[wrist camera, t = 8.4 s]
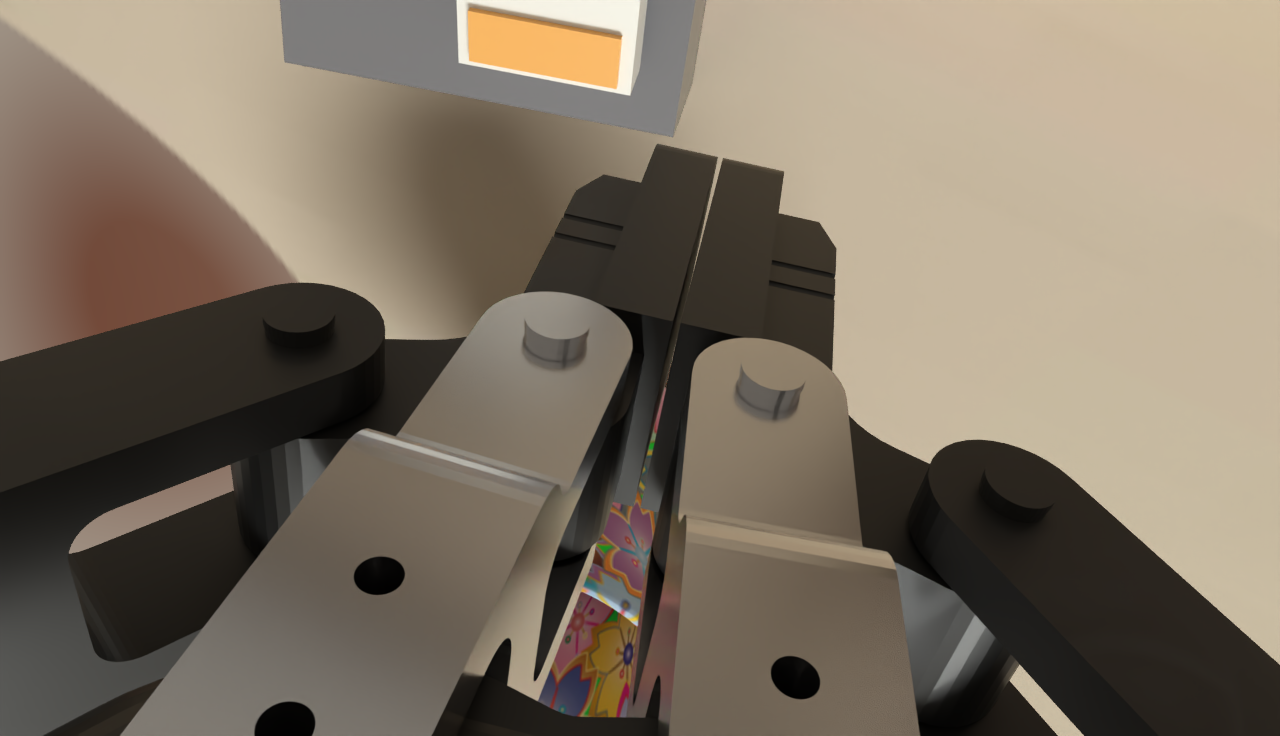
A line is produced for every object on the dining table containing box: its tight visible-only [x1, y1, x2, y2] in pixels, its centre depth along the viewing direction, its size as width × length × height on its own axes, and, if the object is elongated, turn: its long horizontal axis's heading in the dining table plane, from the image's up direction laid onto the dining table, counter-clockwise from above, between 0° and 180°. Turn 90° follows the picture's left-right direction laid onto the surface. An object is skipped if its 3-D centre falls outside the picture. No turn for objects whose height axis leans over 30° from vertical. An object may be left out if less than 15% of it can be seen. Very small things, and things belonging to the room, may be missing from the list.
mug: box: [538, 387, 666, 717], centre depth 31 cm, size 12×9×11 cm
